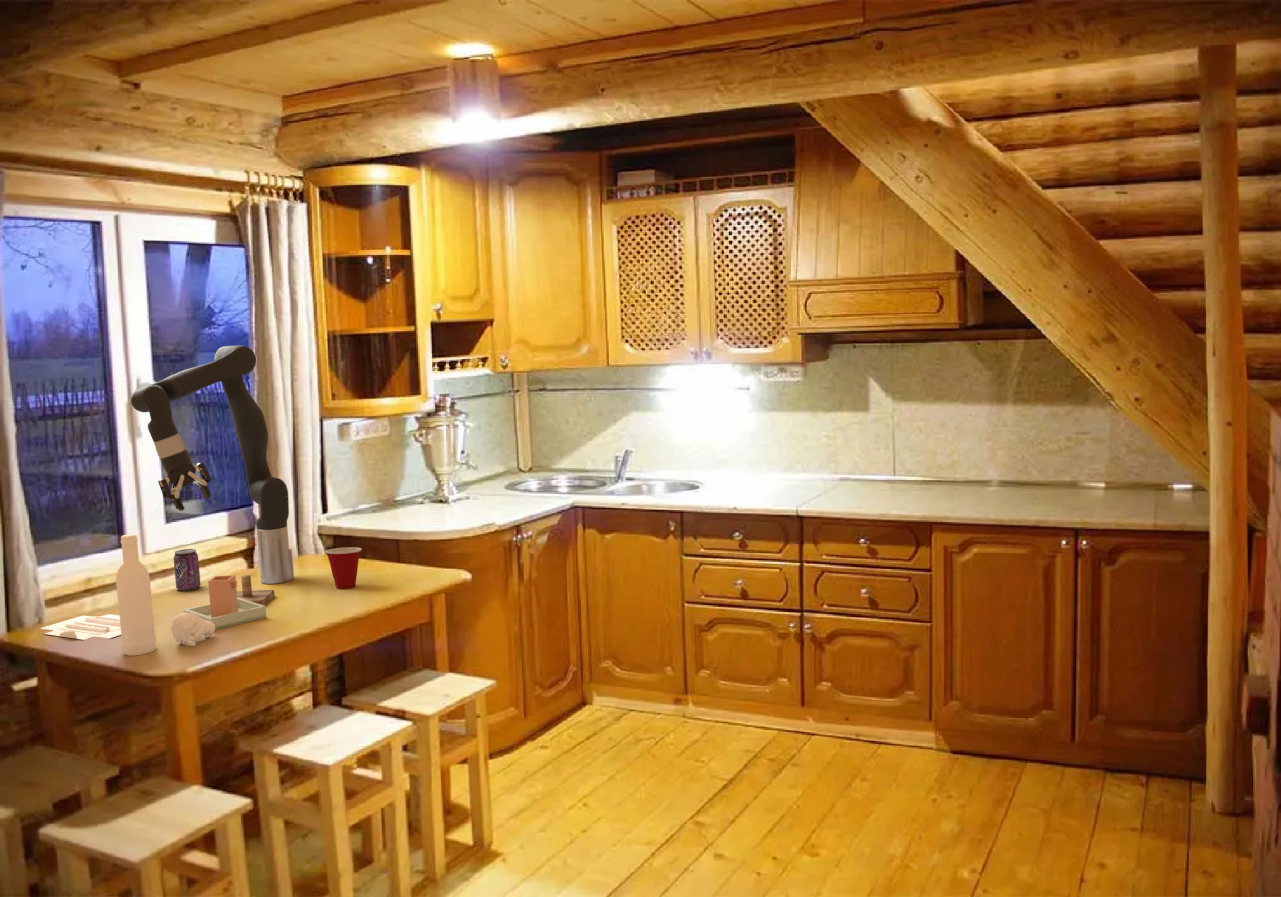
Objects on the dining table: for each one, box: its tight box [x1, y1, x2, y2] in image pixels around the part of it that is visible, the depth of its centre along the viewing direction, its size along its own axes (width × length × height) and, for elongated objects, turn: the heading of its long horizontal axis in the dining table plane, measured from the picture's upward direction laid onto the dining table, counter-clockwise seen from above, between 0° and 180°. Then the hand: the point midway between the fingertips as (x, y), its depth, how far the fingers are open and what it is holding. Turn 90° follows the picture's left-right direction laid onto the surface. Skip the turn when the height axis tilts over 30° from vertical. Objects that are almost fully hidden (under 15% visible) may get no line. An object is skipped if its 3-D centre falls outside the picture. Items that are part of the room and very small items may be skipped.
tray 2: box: [39, 613, 121, 641], centre depth 310 cm, size 20×28×4 cm
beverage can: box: [173, 548, 202, 592], centre depth 349 cm, size 7×7×12 cm
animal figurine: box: [170, 612, 216, 647], centre depth 292 cm, size 6×8×12 cm
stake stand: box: [237, 574, 276, 606], centre depth 330 cm, size 12×12×8 cm
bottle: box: [115, 533, 157, 657], centre depth 284 cm, size 8×8×30 cm
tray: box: [183, 597, 267, 631], centre depth 312 cm, size 16×16×3 cm
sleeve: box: [207, 574, 238, 618], centre depth 312 cm, size 6×6×11 cm
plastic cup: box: [324, 546, 362, 590], centre depth 344 cm, size 11×11×12 cm
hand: (195, 504), depth 325 cm, fingers open, 8 cm apart
